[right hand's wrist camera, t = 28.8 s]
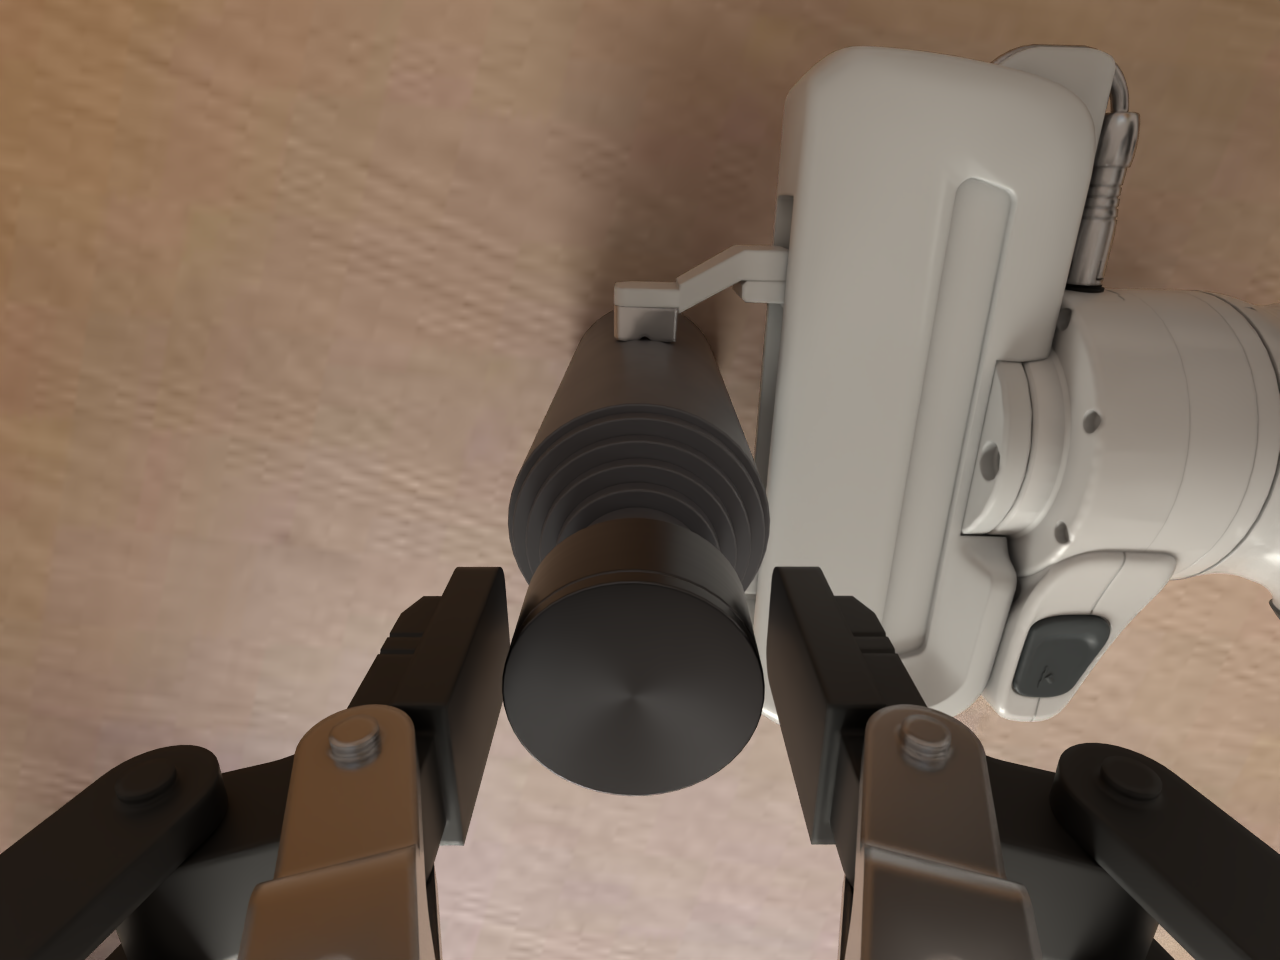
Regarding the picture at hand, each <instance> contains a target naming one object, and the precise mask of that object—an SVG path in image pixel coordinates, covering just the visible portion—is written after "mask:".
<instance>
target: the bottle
mask: <svg viewBox="0 0 1280 960" xmlns="http://www.w3.org/2000/svg"><path fill="white" fill-rule="evenodd" d="M622 518H647V519H656V520H660V521H665V522H669V523H672V524H675V525H678V526H681V527H684V528H686V529H688V530H690V531H692V532H694V533H696V534H698V535H699V536H701V537H702V538H704V539H705V540H707V541H708V542H710V543H711V544H712V545H713V546H714V547H716V548H717V549H718V550H719V551H720V552H721V553H722V554H723V555H724V556H725V558H726V559H727V560H728V561H729V562H730V564H731V565H732V567H733V568H734V570H735V571H736V573H737V575H738V577H739V579H740V581H741V584H742V586H743V589H744V593H745V591H746V590H747V588H748V587H749V585H750V584H751V582H752V581H753V579H754V578H755V576H756V574H757V572H758V570H759V568H760V566H761V564H762V561H763V558H764V555H765V553H766V549H767V544H768V539H769V531H770V513H769V504H768V500H767V495H766V491H765V488H764V485H763V483H762V480H761V477H760V475H759V472H758V470H757V467H756V464H755V462H754V459H753V457H752V454H751V451H750V449H749V446H748V444H747V441H746V438H745V436H744V433H743V431H742V428H741V425H740V423H739V420H738V418H737V415H736V413H735V410H734V407H733V405H732V402H731V400H730V397H729V394H728V392H727V389H726V387H725V384H724V381H723V379H722V376H721V374H720V371H719V368H718V366H717V363H716V361H715V358H714V355H713V353H712V350H711V348H710V345H709V343H708V342H707V340H706V338H705V336H704V335H703V334H702V332H701V331H700V330H699V328H698V327H697V326H696V325H694V324H693V323H692V322H691V321H690V320H689V319H687V318H686V317H685V316H683V315H682V314H680V313H678V314H677V330H676V342H659V341H651V340H650V339H648V338H647V337H646V336H644V337H642V338H641V339H639V340H633V341H623V340H617V339H615V338H614V311H612V312H609V313H608V314H606V315H605V316H603V317H601V318H600V319H599V320H598V321H597V322H595V323H594V324H593V325H592V326H591V327H590V328H589V330H588V331H587V332H586V333H585V335H584V336H583V338H582V339H581V341H580V343H579V345H578V347H577V349H576V351H575V354H574V356H573V358H572V360H571V362H570V364H569V366H568V369H567V371H566V373H565V375H564V377H563V379H562V382H561V384H560V386H559V388H558V390H557V392H556V394H555V397H554V399H553V401H552V403H551V405H550V407H549V410H548V412H547V414H546V416H545V418H544V420H543V422H542V425H541V427H540V429H539V431H538V433H537V435H536V437H535V440H534V442H533V444H532V446H531V448H530V450H529V453H528V455H527V457H526V459H525V461H524V463H523V465H522V468H521V470H520V472H519V474H518V476H517V479H516V482H515V484H514V487H513V490H512V493H511V499H510V504H509V513H508V528H509V538H510V542H511V546H512V550H513V554H514V557H515V559H516V562H517V564H518V567H519V569H520V571H521V572H522V574H523V576H524V578H525V579H526V581H527V583H528V584H530V582H531V579H532V577H533V575H534V573H535V571H536V569H537V568H538V566H539V565H540V563H541V562H542V561H543V559H544V558H545V557H546V555H547V554H548V553H549V552H550V551H551V550H552V549H553V548H554V547H555V546H557V545H558V544H559V543H561V542H562V541H563V540H565V539H566V538H567V537H569V536H571V535H572V534H574V533H576V532H578V531H579V530H582V529H584V528H587V527H589V526H591V525H594V524H597V523H601V522H605V521H608V520H615V519H622Z"/></svg>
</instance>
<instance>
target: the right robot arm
mask: <svg viewBox="0 0 1280 960" xmlns="http://www.w3.org/2000/svg"><path fill="white" fill-rule="evenodd" d="M509 648H510V638H509V626H508V613H507V601H506V588H505V578H504V572H503V569H502V568H501V567H457V568H456V569H455V570H454V572H453V574H452V576H451V578H450V580H449V582H448V585H447V587H446V589H445V591H444V593H443V595H442V596H423V597H422V598H421V599H419V600H418V601H417V602H415V603H414V604H413V605H412V606H410V607H409V608H408V609H406V610H405V611H404V612H402V613H401V615H400V616H399V618H398V620H397V622H396V623H395V625H394V627H393V629H392V630H391V632H390V637H387V639H386V641H385V643H384V645H383V646H382V648H381V650H380V654H378V655H377V657H376V659H375V660H374V662H373V664H372V666H371V667H370V669H369V671H368V673H367V674H366V676H365V678H364V680H363V681H362V683H361V685H360V687H359V688H358V690H357V692H356V694H355V696H354V697H353V699H352V701H351V703H350V704H349V706H348V708H347V709H345V710H342V711H339V712H337V713H335V714H333V715H330V716H328V717H327V718H325V719H323V720H322V721H320V722H319V723H317V724H316V725H315V726H313V727H312V728H311V729H310V730H309V731H308V732H307V733H306V734H305V735H304V736H303V738H302V739H301V740H300V742H299V744H298V746H297V748H296V751H295V754H294V755H291V756H289V757H286V758H283V759H280V760H277V761H273V762H269V763H265V764H260V765H256V766H252V767H247V768H243V769H238V770H234V771H230V772H225V773H221V770H220V767H219V763H218V760H217V758H216V756H215V755H214V754H213V753H212V752H211V751H209V750H207V749H205V748H202V747H199V746H193V745H177V746H169V747H164V748H159V749H156V750H152V751H149V752H146V753H143V754H141V755H138V756H136V757H134V758H131V759H129V760H127V761H125V762H123V763H121V764H120V765H118V766H116V767H115V768H113V769H111V770H110V771H109V772H107V773H106V774H104V775H103V776H101V777H100V778H99V779H98V780H96V781H95V782H94V783H92V784H91V785H90V786H88V787H87V788H86V789H85V790H83V791H82V792H81V793H79V794H78V795H77V796H75V797H74V798H73V799H72V800H70V801H69V802H68V803H66V804H65V805H64V806H63V807H61V808H60V809H59V810H57V811H56V812H55V813H53V814H52V815H51V816H50V817H48V818H47V819H46V820H44V821H43V822H42V823H40V824H39V825H38V826H37V827H35V828H34V829H33V830H31V831H30V832H29V833H27V834H26V835H25V836H24V837H22V838H21V839H20V840H18V841H17V842H16V843H14V844H13V845H12V846H11V847H9V848H8V849H7V850H5V851H4V852H3V853H1V854H0V960H85V959H86V958H87V957H88V956H89V955H90V954H91V953H92V952H93V951H94V950H95V949H96V948H97V947H98V946H99V945H100V944H101V943H102V942H103V941H104V940H105V939H106V938H107V937H108V936H109V935H110V934H111V933H112V932H113V931H114V930H115V929H116V931H117V934H118V936H119V939H120V942H121V944H120V945H119V946H118V947H117V948H116V949H115V950H114V951H113V952H112V953H111V954H110V955H109V956H108V957H107V958H106V959H105V960H443V959H442V945H441V930H440V915H439V901H438V887H437V880H436V873H435V866H434V861H435V858H436V854H437V851H438V848H439V846H464V843H465V839H466V835H467V832H468V828H469V824H470V820H471V817H472V813H473V809H474V806H475V802H476V798H477V795H478V791H479V787H480V783H481V780H482V776H483V772H484V769H485V765H486V761H487V758H488V754H489V750H490V746H491V743H492V739H493V735H494V732H495V728H496V724H497V721H498V717H499V713H500V709H501V706H502V702H503V695H502V676H503V671H504V666H505V661H506V658H507V655H508V652H509ZM766 663H767V674H768V680H769V685H770V689H771V693H772V696H773V700H774V704H775V708H776V712H777V715H778V719H779V723H780V727H781V731H782V734H783V738H784V742H785V746H786V750H787V753H788V757H789V761H790V765H791V769H792V772H793V776H794V780H795V784H796V787H797V791H798V795H799V799H800V803H801V806H802V810H803V814H804V818H805V822H806V825H807V829H808V833H809V837H810V841H811V844H836V847H837V850H838V854H839V857H840V860H841V864H842V867H843V870H844V880H843V887H842V901H841V915H840V930H839V945H838V959H837V960H1174V958H1173V957H1172V956H1171V955H1170V954H1169V953H1168V952H1167V951H1166V950H1165V949H1164V948H1163V947H1162V946H1161V945H1160V944H1159V943H1158V942H1157V941H1156V940H1155V939H1154V935H1155V932H1156V930H1157V927H1158V924H1160V925H1161V926H1162V927H1163V928H1164V929H1165V930H1166V931H1167V932H1168V933H1169V934H1170V935H1171V936H1172V937H1173V938H1174V939H1175V940H1176V941H1177V942H1178V943H1179V944H1180V945H1181V946H1182V947H1183V948H1184V949H1185V950H1186V951H1187V952H1188V953H1189V954H1190V955H1191V956H1192V957H1193V958H1194V959H1195V960H1280V854H1278V853H1277V852H1276V851H1275V850H1273V849H1272V848H1271V847H1269V846H1268V845H1267V844H1266V843H1264V842H1263V841H1262V840H1260V839H1259V838H1258V837H1256V836H1255V835H1254V834H1253V833H1251V832H1250V831H1249V830H1247V829H1246V828H1245V827H1243V826H1242V825H1241V824H1240V823H1238V822H1237V821H1236V820H1234V819H1233V818H1232V817H1230V816H1229V815H1228V814H1227V813H1225V812H1224V811H1223V810H1221V809H1220V808H1219V807H1217V806H1216V805H1215V804H1214V803H1212V802H1211V801H1210V800H1208V799H1207V798H1206V797H1204V796H1203V795H1202V794H1201V793H1199V792H1198V791H1197V790H1195V789H1194V788H1193V787H1191V786H1190V785H1189V784H1188V783H1186V782H1185V781H1184V780H1182V779H1181V778H1180V777H1179V776H1177V775H1176V774H1175V773H1173V772H1172V771H1170V770H1169V769H1167V768H1166V767H1165V766H1163V765H1161V764H1159V763H1158V762H1156V761H1154V760H1152V759H1150V758H1148V757H1146V756H1144V755H1142V754H1139V753H1137V752H1134V751H1132V750H1129V749H1126V748H1122V747H1119V746H1114V745H1109V744H1102V743H1083V744H1078V745H1075V746H1072V747H1070V748H1068V749H1067V750H1065V751H1064V752H1063V753H1062V755H1061V757H1060V759H1059V762H1058V766H1057V770H1056V773H1054V772H1050V771H1045V770H1041V769H1036V768H1032V767H1028V766H1023V765H1019V764H1015V763H1010V762H1006V761H1002V760H998V759H995V758H991V757H989V756H986V755H985V751H984V748H983V746H982V744H981V742H980V740H979V739H978V738H977V736H976V735H975V734H974V733H973V732H972V731H971V730H970V729H969V728H968V727H967V726H965V725H964V724H963V723H961V722H960V721H958V720H957V719H955V718H953V717H952V716H950V715H947V714H945V713H943V712H941V711H938V710H935V709H932V708H928V707H927V705H926V704H925V702H924V700H923V698H922V696H921V695H920V693H919V691H918V689H917V687H916V686H915V684H914V682H913V680H912V679H911V677H910V675H909V673H908V671H907V670H906V668H905V666H904V664H903V662H902V661H901V659H900V657H899V655H898V654H897V653H895V648H894V646H893V645H892V643H891V641H890V639H889V637H886V632H885V630H884V628H883V627H882V625H881V623H880V621H879V620H878V618H877V616H876V614H875V613H874V612H873V611H872V610H870V609H869V608H868V607H867V606H865V605H864V604H863V603H861V602H860V601H859V600H857V599H856V598H855V597H854V596H834V594H833V592H832V590H831V588H830V586H829V584H828V582H827V580H826V578H825V576H824V574H823V572H822V570H821V568H820V567H818V566H776V567H775V568H774V570H773V573H772V580H771V593H770V606H769V618H768V631H767V645H766Z"/></svg>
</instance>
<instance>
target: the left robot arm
mask: <svg viewBox="0 0 1280 960" xmlns="http://www.w3.org/2000/svg"><path fill="white" fill-rule="evenodd" d="M1109 96H1110V108H1111V113H1105V112H1106V108H1107V103H1108V99H1109ZM1128 111H1129V93H1128V87H1127V83H1126V80H1125V77H1124V75H1123V73H1122V71H1121V70H1120V68H1119V67H1118V65H1117V64H1116V63H1115V61H1114V59H1113V57H1112V56H1111V55H1109V54H1107V53H1105V52H1103V51H1101V50H1098V49H1096V48H1092V47H1088V46H1083V45H1045V44H1031V45H1025V46H1021V47H1018V48H1015V49H1012V50H1009V51H1008V52H1006V53H1004V54H1002V55H1000V56H999V57H997V58H996V59H995V60H993V61H992V62H991V63H988V62H984V61H979V60H974V59H969V58H963V57H958V56H953V55H946V54H940V53H934V52H927V51H919V50H912V49H901V48H890V47H878V46H851V47H847V48H842V49H840V50H837V51H834V52H832V53H831V54H829V55H827V56H826V57H824V58H823V59H821V60H820V61H819V62H817V63H816V64H815V65H814V66H813V67H812V68H810V69H809V70H808V71H807V72H806V73H805V74H804V75H803V76H802V77H801V78H800V79H799V80H798V82H797V83H796V84H795V85H794V86H793V87H792V88H791V89H790V91H789V92H788V94H787V97H786V100H785V104H784V114H783V126H782V137H781V149H780V160H779V172H778V184H777V195H776V207H775V219H774V230H773V242H772V245H733V246H731V247H730V248H728V249H726V250H724V251H722V252H721V253H719V254H717V255H715V256H714V257H712V258H710V259H708V260H707V261H705V262H703V263H701V264H700V265H698V266H696V267H694V268H693V269H691V270H689V271H687V272H686V273H684V274H682V275H680V276H679V277H677V278H676V282H645V281H625V282H616V283H615V286H614V338H615V339H617V340H623V341H633V340H639V339H641V338H642V337H644V336H646V337H647V338H648V339H650V340H651V341H659V342H676V330H677V314H678V313H681V312H683V311H685V310H687V309H689V308H690V307H692V306H694V305H696V304H698V303H700V302H702V301H704V300H705V299H707V298H709V297H711V296H713V295H715V294H717V293H718V292H720V291H722V290H724V289H726V288H728V287H730V286H732V285H733V287H732V289H733V290H734V291H735V292H736V293H737V294H738V295H739V296H740V297H741V298H742V299H743V300H744V301H745V302H752V303H767V312H766V323H765V335H764V346H763V358H762V370H761V381H760V393H759V405H758V416H757V428H756V439H755V451H754V462H755V464H756V467H757V470H758V472H759V475H760V477H761V480H762V483H763V485H764V488H765V491H766V495H767V500H768V504H769V513H770V531H769V539H768V544H767V549H766V553H765V555H764V558H763V561H762V564H761V566H760V568H759V570H758V572H757V574H756V576H755V578H754V579H753V581H752V582H751V584H750V585H749V587H748V588H747V590H746V591H745V596H746V600H747V605H748V609H749V613H750V617H751V622H752V626H753V630H754V634H755V639H756V643H757V647H758V651H759V656H760V660H761V664H762V668H763V674H764V682H765V698H764V704H763V709H762V715H764V716H765V717H767V718H768V719H770V720H771V721H773V722H775V723H776V724H779V725H780V723H779V719H778V715H777V712H776V708H775V704H774V700H773V696H772V693H771V689H770V685H769V680H768V674H767V663H766V645H767V631H768V618H769V606H770V593H771V580H772V573H773V570H774V568H775V567H776V566H818V567H820V568H821V570H822V572H823V574H824V576H825V578H826V580H827V582H828V584H829V586H830V588H831V590H832V592H833V594H834V596H854V597H855V598H856V599H857V600H859V601H860V602H861V603H863V604H864V605H865V606H867V607H868V608H869V609H870V610H872V611H873V612H874V613H875V614H876V616H877V618H878V620H879V621H880V623H881V625H882V627H883V628H884V630H885V632H886V637H889V639H890V641H891V643H892V645H893V646H894V648H895V653H897V654H898V655H899V657H900V659H901V661H902V662H903V664H904V666H905V668H906V670H907V671H908V673H909V675H910V677H911V679H912V680H913V682H914V684H915V686H916V687H917V689H918V691H919V693H920V695H921V696H922V698H923V700H924V702H925V704H926V705H927V707H928V708H932V709H935V710H938V711H941V712H943V713H945V714H947V715H950V716H952V717H954V716H956V715H958V714H960V713H961V712H963V711H964V710H966V709H967V708H969V707H970V706H971V705H972V704H973V703H974V702H975V701H976V700H977V699H978V697H979V696H980V695H982V696H983V698H984V699H985V700H986V701H987V702H988V703H989V704H990V706H991V707H992V708H993V709H994V710H995V711H996V712H997V713H998V714H999V715H1000V716H1001V717H1003V718H1005V719H1008V720H1012V721H1022V722H1036V721H1043V720H1047V719H1050V718H1052V717H1054V716H1055V715H1057V714H1058V713H1059V712H1060V711H1062V710H1063V709H1064V707H1065V706H1066V705H1067V704H1068V703H1069V701H1070V700H1071V698H1072V697H1073V696H1074V694H1075V693H1076V691H1077V690H1078V689H1079V687H1080V686H1081V684H1082V683H1083V681H1084V680H1085V679H1086V677H1087V676H1088V674H1089V673H1090V672H1091V670H1092V669H1093V667H1094V666H1095V665H1096V663H1097V662H1098V661H1099V659H1100V658H1101V657H1102V655H1103V654H1104V653H1105V652H1106V650H1107V649H1108V648H1109V646H1110V645H1111V644H1112V643H1113V641H1114V640H1115V639H1116V638H1117V637H1118V635H1119V634H1120V633H1121V632H1122V631H1123V629H1124V628H1125V627H1126V626H1127V625H1128V624H1129V623H1130V622H1131V621H1132V619H1133V618H1134V617H1135V616H1136V615H1137V614H1138V613H1139V612H1140V611H1141V610H1142V609H1143V608H1144V607H1145V606H1146V605H1147V604H1148V603H1149V602H1150V601H1151V600H1152V599H1153V598H1154V597H1155V596H1156V595H1157V594H1158V593H1159V592H1160V591H1161V590H1162V589H1163V588H1164V587H1165V585H1166V584H1167V583H1168V581H1169V580H1179V579H1185V578H1189V577H1195V576H1200V575H1205V574H1214V573H1215V574H1230V575H1236V576H1240V577H1243V578H1246V579H1248V580H1251V581H1253V582H1256V583H1259V584H1261V585H1263V586H1264V587H1265V588H1267V589H1268V590H1269V591H1270V593H1271V594H1272V597H1273V599H1271V600H1270V601H1269V604H1270V606H1271V608H1272V609H1273V611H1274V612H1275V614H1276V615H1277V617H1278V618H1279V619H1280V302H1278V303H1274V304H1270V305H1254V304H1251V303H1248V302H1245V301H1243V300H1240V299H1238V298H1235V297H1231V296H1228V295H1224V294H1219V293H1214V292H1208V291H1197V290H1167V289H1163V290H1162V289H1120V288H1103V287H1102V283H1103V279H1104V275H1105V271H1106V267H1107V263H1108V259H1109V255H1110V251H1111V247H1112V243H1113V239H1114V235H1115V230H1116V224H1117V220H1116V217H1117V216H1118V209H1117V207H1118V206H1119V201H1120V199H1119V198H1118V197H1119V196H1120V195H1121V190H1122V188H1121V185H1123V182H1124V178H1125V175H1126V171H1127V168H1129V167H1131V164H1132V161H1133V159H1134V156H1135V152H1136V148H1137V144H1138V139H1139V131H1140V115H1139V113H1136V112H1128Z"/></svg>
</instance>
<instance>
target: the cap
mask: <svg viewBox="0 0 1280 960" xmlns="http://www.w3.org/2000/svg"><path fill="white" fill-rule="evenodd" d="M502 695H503V703H504V707H505V711H506V714H507V717H508V720H509V722H510V724H511V727H512V729H513V731H514V733H515V734H516V736H517V737H518V739H519V740H520V742H521V744H522V745H523V746H524V747H525V748H526V750H527V751H528V752H529V753H530V754H531V755H532V756H533V757H534V758H535V759H536V760H537V761H538V762H539V763H541V764H542V765H543V766H544V767H546V768H547V769H549V770H550V771H551V772H553V773H554V774H556V775H558V776H560V777H561V778H563V779H565V780H567V781H569V782H571V783H574V784H576V785H578V786H581V787H583V788H587V789H590V790H594V791H597V792H602V793H607V794H613V795H623V796H649V795H657V794H664V793H668V792H673V791H677V790H680V789H683V788H686V787H689V786H692V785H694V784H696V783H699V782H701V781H703V780H705V779H707V778H709V777H710V776H712V775H714V774H715V773H717V772H718V771H720V770H721V769H722V768H724V767H725V766H726V765H727V764H729V763H730V762H731V761H732V760H733V759H734V758H735V757H736V756H737V755H738V754H739V753H740V752H741V751H742V749H743V748H744V747H745V745H746V744H747V743H748V741H749V740H750V738H751V737H752V735H753V733H754V731H755V729H756V727H757V725H758V722H759V719H760V717H761V714H762V709H763V704H764V698H765V682H764V674H763V668H762V664H761V660H760V656H759V651H758V647H757V643H756V639H755V634H754V630H753V626H752V622H751V617H750V613H749V609H748V605H747V600H746V596H745V593H744V589H743V586H742V584H741V581H740V579H739V577H738V575H737V573H736V571H735V570H734V568H733V567H732V565H731V564H730V562H729V561H728V560H727V559H726V558H725V556H724V555H723V554H722V553H721V552H720V551H719V550H718V549H717V548H716V547H714V546H713V545H712V544H711V543H710V542H708V541H707V540H705V539H704V538H702V537H701V536H699V535H698V534H696V533H694V532H692V531H690V530H688V529H686V528H684V527H681V526H678V525H675V524H672V523H669V522H665V521H660V520H656V519H647V518H622V519H615V520H608V521H605V522H601V523H597V524H594V525H591V526H589V527H587V528H584V529H582V530H579V531H578V532H576V533H574V534H572V535H571V536H569V537H567V538H566V539H565V540H563V541H562V542H561V543H559V544H558V545H557V546H555V547H554V548H553V549H552V550H551V551H550V552H549V553H548V554H547V555H546V557H545V558H544V559H543V561H542V562H541V563H540V565H539V566H538V568H537V569H536V571H535V573H534V575H533V577H532V579H531V582H530V584H529V587H528V590H527V593H526V596H525V599H524V603H523V606H522V609H521V612H520V616H519V619H518V622H517V625H516V629H515V632H514V635H513V638H512V642H511V645H510V648H509V652H508V655H507V658H506V661H505V666H504V671H503V676H502Z"/></svg>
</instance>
